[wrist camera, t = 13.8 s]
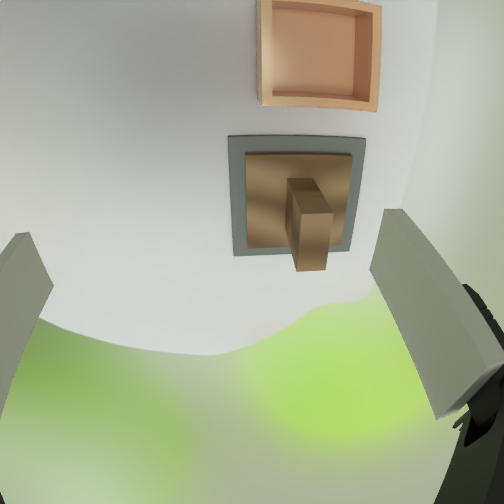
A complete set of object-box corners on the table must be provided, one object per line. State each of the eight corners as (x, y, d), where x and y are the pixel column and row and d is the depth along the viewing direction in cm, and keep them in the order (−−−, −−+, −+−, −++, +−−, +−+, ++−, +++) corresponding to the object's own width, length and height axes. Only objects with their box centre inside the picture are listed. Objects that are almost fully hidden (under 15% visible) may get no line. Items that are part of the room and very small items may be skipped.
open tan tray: (256, 2, 26) (260, -9, 21) (359, 12, 26) (381, 6, 21) (257, 98, 32) (261, 106, 28) (356, 103, 33) (376, 112, 28)
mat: (227, 136, 35) (227, 137, 34) (364, 138, 36) (366, 139, 35) (233, 253, 45) (233, 256, 44) (347, 249, 45) (349, 251, 45)
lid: (245, 152, 36) (249, 185, 27) (349, 153, 36) (383, 186, 28) (247, 243, 43) (251, 294, 35) (338, 240, 44) (360, 287, 35)
